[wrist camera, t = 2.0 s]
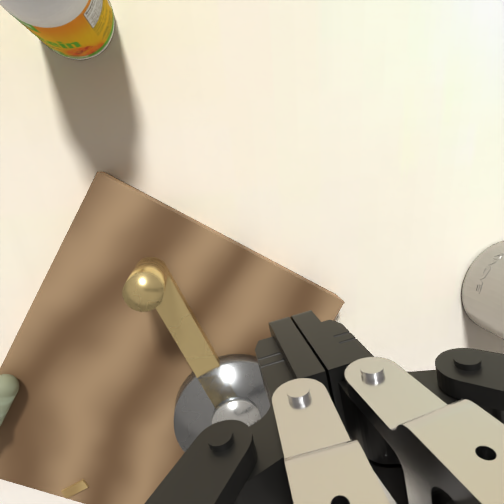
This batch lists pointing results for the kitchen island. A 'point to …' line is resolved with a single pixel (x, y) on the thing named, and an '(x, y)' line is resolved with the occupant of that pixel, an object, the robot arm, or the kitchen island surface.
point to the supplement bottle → (67, 24)
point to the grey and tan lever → (197, 359)
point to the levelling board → (127, 345)
